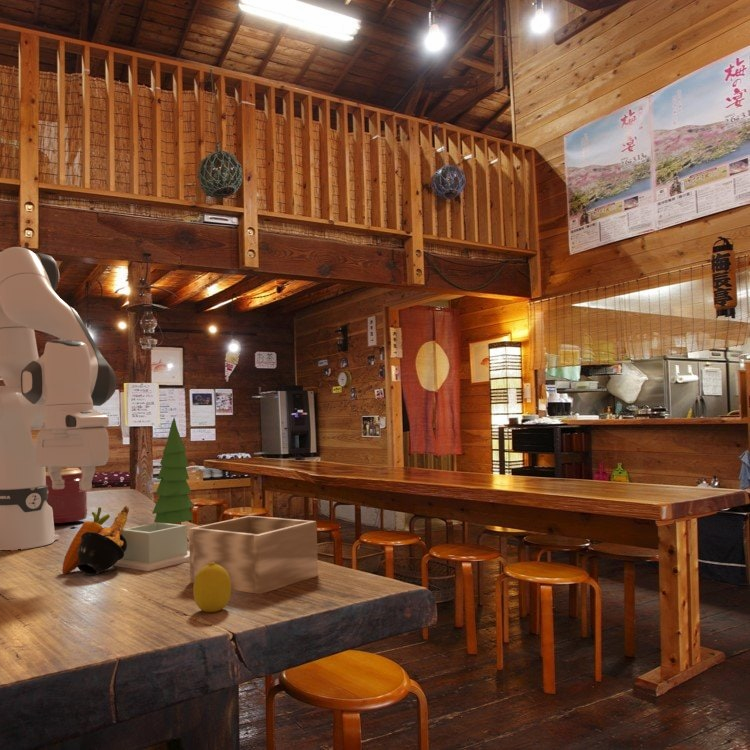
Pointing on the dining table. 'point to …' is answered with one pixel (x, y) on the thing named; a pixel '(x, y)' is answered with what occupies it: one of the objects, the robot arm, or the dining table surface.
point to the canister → (67, 497)
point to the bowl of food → (103, 547)
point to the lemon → (212, 588)
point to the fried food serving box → (257, 551)
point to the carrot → (72, 553)
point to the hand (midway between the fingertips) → (71, 489)
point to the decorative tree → (173, 483)
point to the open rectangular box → (154, 546)
